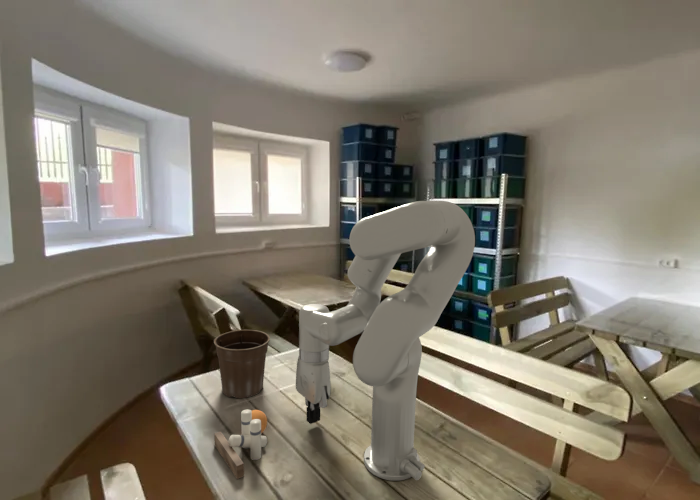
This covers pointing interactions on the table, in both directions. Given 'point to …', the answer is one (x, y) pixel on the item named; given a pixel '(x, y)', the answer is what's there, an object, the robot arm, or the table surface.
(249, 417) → the pin
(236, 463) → the back wall
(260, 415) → the ball
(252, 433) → the back pin
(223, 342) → the plant pot
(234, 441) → the front pin
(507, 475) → the table surface
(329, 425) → the table surface
